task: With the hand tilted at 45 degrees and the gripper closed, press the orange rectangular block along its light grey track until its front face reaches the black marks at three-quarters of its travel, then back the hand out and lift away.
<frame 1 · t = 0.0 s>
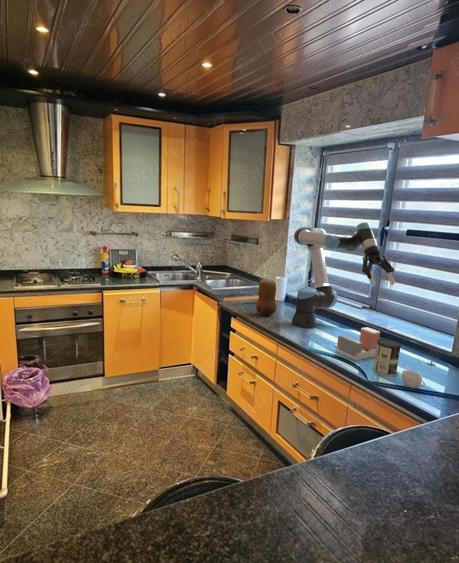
hand: (383, 284, 197), 36 cm above the countertop, tool tilted 35°, fingers open, 13 cm apart
teacup: (412, 387, 160), on the countertop
coffee can: (384, 371, 175), on the countertop
plunger housing: (360, 352, 197), on the countertop
orange rectangular block: (369, 338, 199), point 7 cm above the countertop, slide at 0.0 cm
brown curvy cylinder: (265, 315, 257), on the countertop
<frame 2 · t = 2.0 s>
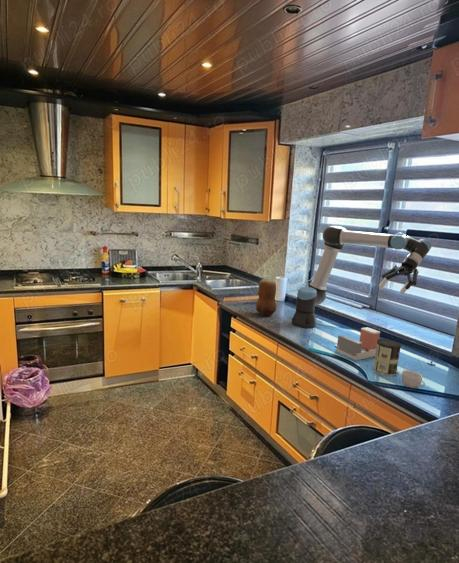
hand: (390, 290, 204), 32 cm above the countertop, tool tilted 45°, fingers open, 13 cm apart
nothing on the countertop moved.
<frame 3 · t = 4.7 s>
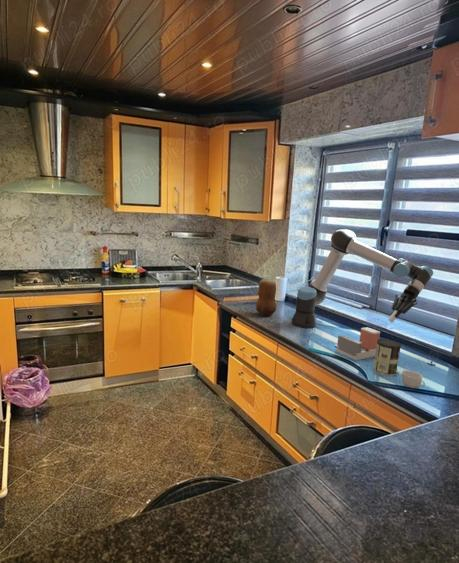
hand: (390, 320, 205), 15 cm above the countertop, tool tilted 45°, fingers closed
nothing on the countertop moved.
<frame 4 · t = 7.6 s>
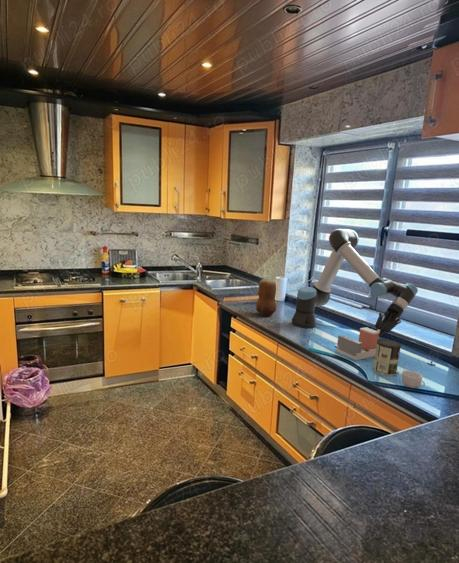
hand: (373, 340, 200), 6 cm above the countertop, tool tilted 45°, fingers closed
orange rectangular block: (368, 339, 199), point 7 cm above the countertop, slide at 0.8 cm, touching gripper
everything else where it was.
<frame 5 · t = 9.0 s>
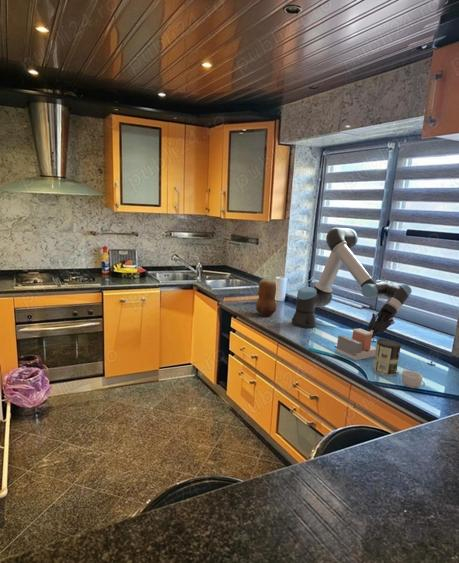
hand: (366, 341, 198), 6 cm above the countertop, tool tilted 45°, fingers closed
orange rectangular block: (361, 340, 196), point 7 cm above the countertop, slide at 6.1 cm, touching gripper
everything else where it was.
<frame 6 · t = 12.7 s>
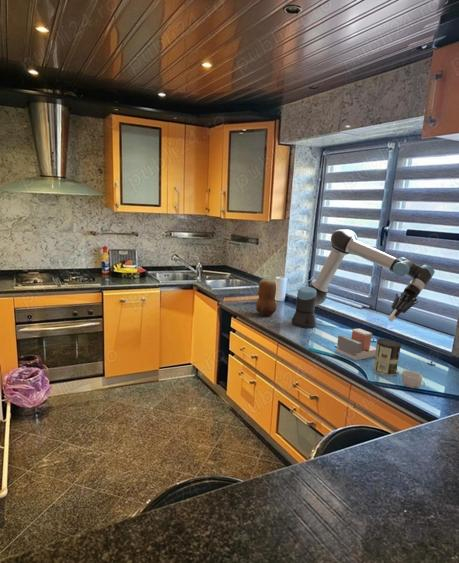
hand: (390, 319, 203), 16 cm above the countertop, tool tilted 45°, fingers closed
orange rectangular block: (360, 340, 196), point 7 cm above the countertop, slide at 6.7 cm
everything else where it was.
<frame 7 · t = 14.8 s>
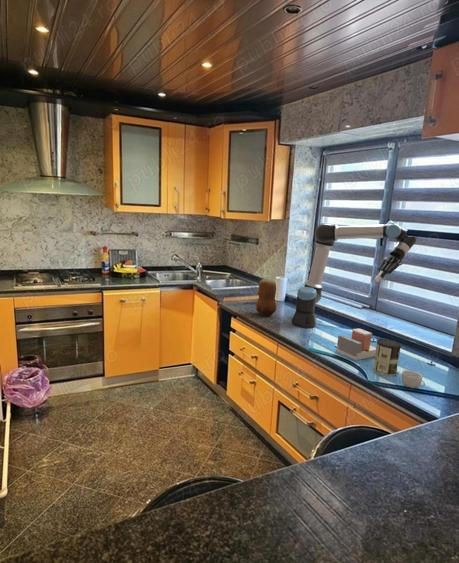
hand: (376, 280, 214), 35 cm above the countertop, tool tilted 45°, fingers closed
nothing on the countertop moved.
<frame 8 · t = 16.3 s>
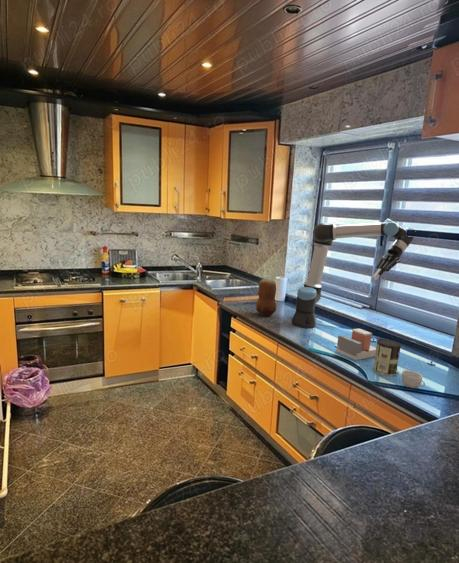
hand: (374, 278, 215), 36 cm above the countertop, tool tilted 45°, fingers closed
nothing on the countertop moved.
at the end: orange rectangular block slide at 6.7 cm; coffee can moved 0.2 cm from its start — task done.
